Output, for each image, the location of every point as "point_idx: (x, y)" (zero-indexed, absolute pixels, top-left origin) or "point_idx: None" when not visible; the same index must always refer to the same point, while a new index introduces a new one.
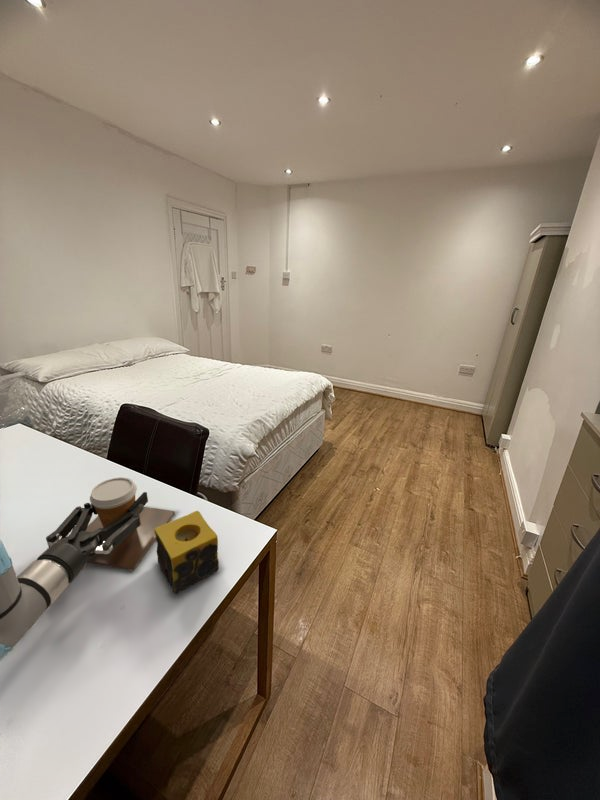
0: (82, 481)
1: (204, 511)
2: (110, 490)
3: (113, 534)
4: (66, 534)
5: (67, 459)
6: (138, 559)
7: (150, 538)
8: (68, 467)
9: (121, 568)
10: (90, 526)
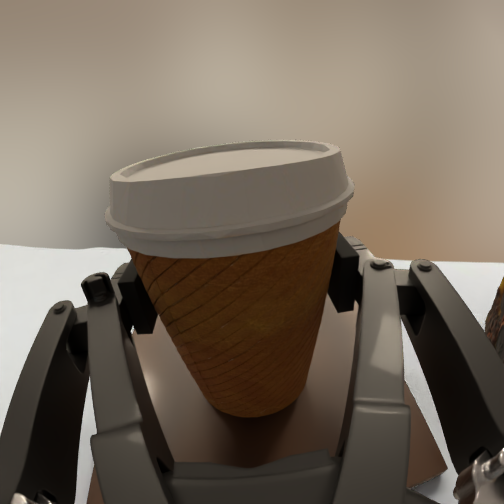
0: (55, 281)
1: (402, 267)
2: (213, 164)
3: (488, 386)
4: (70, 468)
5: (27, 258)
6: (431, 439)
7: None
8: (29, 267)
9: None
10: None
